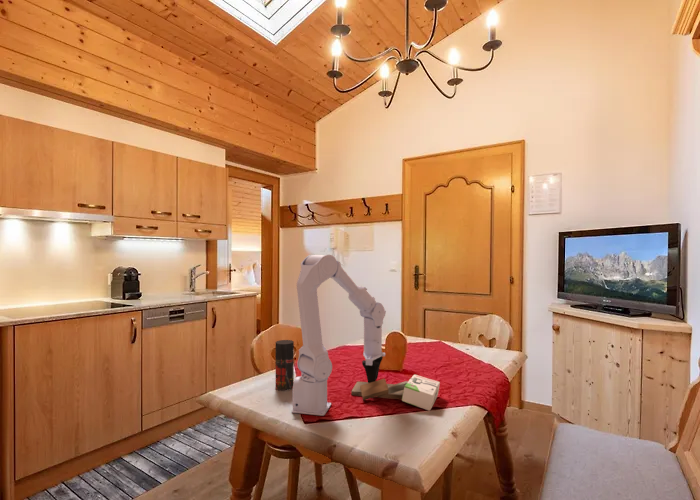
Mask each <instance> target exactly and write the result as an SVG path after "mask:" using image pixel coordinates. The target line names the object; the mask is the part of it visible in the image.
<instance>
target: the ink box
mask: <svg viewBox="0 0 700 500" xmlns="http://www.w3.org/2000/svg"><path fill="white" fill-rule="evenodd" d="M407 382H408V383H407V384H406V385H405V387H404V391H403V396H402V399H401V401H402V402H404V403H407V404H409V405H412V406H415V407H417V408H420V409H423V410H425V411H427V412H429V411H431V410H432V408H433V406H434V404H435V402H436V400H437V398H438V396H439V391H440V384H441V383H440V382H441V381H438V380H435V379H431V378H427V377H425V376H421V375H418V374H413V375H412V377H411V378H409V380H407Z"/></svg>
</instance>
